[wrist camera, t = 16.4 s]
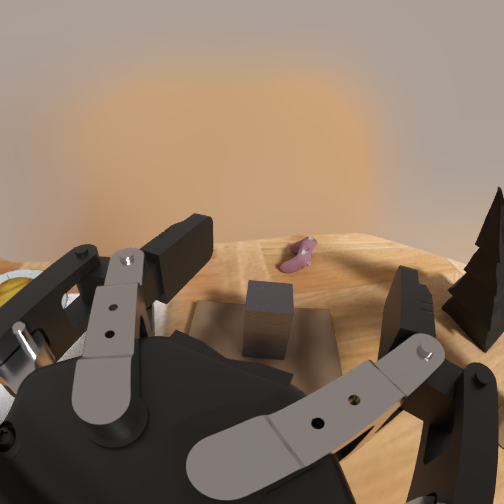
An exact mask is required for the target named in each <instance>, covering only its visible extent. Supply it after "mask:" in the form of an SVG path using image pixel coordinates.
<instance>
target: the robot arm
mask: <svg viewBox="0 0 504 504" xmlns="http://www.w3.org/2000/svg"><path fill="white" fill-rule="evenodd" d="M212 253H213V220H212V218H211V217H209V216H205V215H200V214H196V213H195V214H193V215H191V216H190V217H189V218H187V219H186V220H184V221H182V222H180V223H177V224H174V225H172V226H170V227H169V228H168V229H166V230H165V231H164V232H162V233H161V234H159V236H157V237H155V238H154V239H152V240H151V241H150V242H149V243H147V244H146V245H144V246H143V247H142V248H140V249H136V248H126V249H122V250H119V251H117V252H116V253H114V254H113V255H112V256H111V257H100V256H99V255H98V251H97V248H96V246H94V245H91V244H85V245H80V246H78V247H75V248H74V249H72V250H71V251H69V252H68V253H67V254H65V255H64V256H63V257H61V258H60V259H59V260H57V261H56V262H55V263H53V264H52V265H51V266H50V267H48V268H47V269H46V270H44V271H43V272H42V273H41V274H39V275H38V276H37V277H36V278H34V279H33V280H32V281H31V282H30V283H28V284H27V285H26V286H25V287H23V288H22V289H21V290H20V291H19V292H17V293H16V294H15V295H14V296H13V297H12V298H10V299H9V300H8V301H7V302H6V303H5V304H4V305H2V306H1V307H0V384H2V385H3V386H4V388H5V389H6V390H7V391H8V392H9V393H10V395H11V396H13V397H15V400H14V402H13V405H12V407H11V409H10V411H9V413H8V415H7V417H6V418H5V420H4V422H3V423H2V424H1V425H0V504H356V502H355V499H354V497H353V494H352V492H351V490H350V487H349V485H348V482H347V480H346V477H345V475H344V473H343V470H342V468H341V465H340V463H341V462H342V461H344V460H345V459H347V458H348V457H349V456H351V455H352V454H353V453H355V452H356V451H357V450H358V449H360V448H361V447H362V446H363V445H364V444H365V443H367V442H368V441H369V440H370V439H371V438H373V437H374V436H375V435H376V434H378V433H379V432H380V431H381V430H382V429H384V428H385V427H386V426H387V425H389V424H390V423H391V422H392V421H393V420H394V419H396V418H397V417H398V416H399V415H400V414H401V413H402V412H403V411H407V412H408V413H410V414H412V415H414V416H415V417H417V418H419V419H421V420H423V421H424V422H423V429H422V435H421V441H420V446H419V451H418V456H417V461H416V465H415V470H414V474H413V478H412V482H411V486H410V490H409V493H408V497H407V500H406V503H405V504H493V500H494V493H495V485H496V476H497V464H498V443H499V444H500V445H501V447H503V448H504V405H503V406H502V407H501V408H500V409H499V410H498V396H497V383H496V379H495V376H494V374H493V373H492V371H491V370H490V369H489V368H488V367H487V366H485V365H483V364H481V363H475V362H474V363H471V364H469V365H467V367H466V368H465V369H462V368H460V367H458V366H456V365H455V364H453V363H451V362H449V361H448V360H447V359H445V351H444V348H443V346H442V345H441V343H440V342H439V341H438V340H437V339H436V335H435V322H434V314H433V312H434V311H433V306H432V305H433V302H432V295H431V293H430V291H429V290H428V288H427V286H426V285H422V284H419V281H418V271H417V270H415V269H412V268H408V267H405V266H401V265H400V266H399V267H398V270H397V272H396V275H395V278H394V280H393V283H392V286H391V288H390V291H389V294H388V296H387V299H386V302H385V306H384V312H383V321H382V330H381V339H380V346H379V353H378V360H377V362H376V363H373V362H372V361H371V360H367V361H365V362H363V363H361V364H360V365H358V366H357V367H355V368H354V369H352V370H350V371H349V372H347V373H346V374H344V375H342V376H341V377H339V378H337V379H336V380H334V381H332V382H331V383H329V384H327V385H326V386H324V387H322V388H320V389H319V390H317V391H315V392H313V393H312V394H310V395H308V396H307V395H306V394H305V393H304V392H303V391H301V390H300V389H299V388H297V387H296V386H294V385H293V384H291V382H292V379H293V375H294V374H292V373H289V372H286V371H283V370H280V369H277V368H274V367H271V366H268V365H265V364H262V363H254V362H247V361H240V360H234V359H228V358H226V357H224V356H223V355H221V354H220V353H218V352H217V351H216V350H214V349H213V348H211V347H210V346H208V345H207V344H206V343H204V342H203V341H201V340H199V339H196V338H194V337H192V336H189V335H187V334H184V333H182V332H180V331H177V330H175V331H174V333H173V334H172V335H171V336H170V337H162V336H155V332H154V305H153V303H154V302H155V301H156V300H158V301H160V302H162V303H165V304H167V303H168V302H169V301H170V300H171V299H172V298H173V297H174V296H175V295H176V294H177V293H178V292H179V291H180V290H181V289H182V288H183V287H184V286H185V285H186V284H187V283H188V282H189V281H190V280H191V279H192V278H193V277H194V276H195V275H196V274H197V273H198V272H199V271H200V270H201V268H202V267H203V266H204V265H205V264H206V263H207V262H208V261H209V260H210V258H211V256H212ZM75 284H76V285H77V287H78V290H79V293H80V295H79V296H78V297H77V298H76V299H75V300H74V301H73V302H72V303H71V304H70V305H69V306H67V307H66V308H65V309H63V306H62V298H63V296H64V294H65V293H66V292H67V291H69V290H70V289H71V288H72V287H73V286H74V285H75ZM86 330H87V334H86V339H85V345H84V351H83V355H82V356H79V357H75V358H72V359H68V360H65V361H61V362H57V361H58V360H59V359H60V358H61V357H62V356H63V355H64V353H65V352H66V351H67V350H68V349H69V348H70V347H71V346H72V345H73V344H74V343H75V342H76V341H77V340H78V339H79V337H80V336H81V335H82V334H83V333H84V332H85V331H86ZM56 362H57V363H56Z"/></svg>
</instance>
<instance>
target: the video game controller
mask: <svg viewBox="0 0 504 504" xmlns="http://www.w3.org/2000/svg"><path fill="white" fill-rule="evenodd" d="M316 244H317V241H316V240H315V239H313V238H310V237H306V238H304V239H303V240H301V241H298V242H296V243H294V244H292V245H291V247H290V250H291V251H292V252H293V253H297V255H296V256H295V257H294V258H292V259H290V260H288V261H285V262H283V263H282V264H281V265H280V270H281V271H282V272H284V273H292V272H295V271H298V270H300V269H303V268H304V267H305V266H306V265H307V266H309V265H310V264H311V261H310V259H311V257H312V255H311V253H312V251H313V249H314V248H315V246H316ZM309 261H310V262H309Z"/></svg>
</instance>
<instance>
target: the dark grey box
mask: <svg viewBox="0 0 504 504" xmlns="http://www.w3.org/2000/svg"><path fill="white" fill-rule="evenodd" d="M293 316H294V305H293V285H292V284H287V283H275V282H264V281H252V280H249V283H248V290H247V297H246V304H245V314H244V332H243V350H242V357H250V358H261V359H274V360H284V358H285V354H286V349H287V345H288V340H289V335H290V330H291V326H292V321H293Z"/></svg>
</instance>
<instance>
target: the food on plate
mask: <svg viewBox="0 0 504 504" xmlns="http://www.w3.org/2000/svg"><path fill="white" fill-rule="evenodd" d="M43 271H44V270H38V269H35V270H28V269H25V270H15V271H11V272H7V273H4V274H2V275H0V307H1V306H2V305H4V304H5V303H6V302H7V301H8V300H9V299H10V298H12V297H13V296H14V295H15V294H16V293H17V292H19V291H20V290H21V289H22V288H23V287H25V286H26V285H27V284H28V283H30V282H31V281H32V280H33V279H34V278H36V277H37V276H38V275H39V274H41V273H42V272H43ZM66 298H67V294H66V293H65V294H64V296H63V298H62V306H63V309H64V307H65V303H66Z"/></svg>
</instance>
